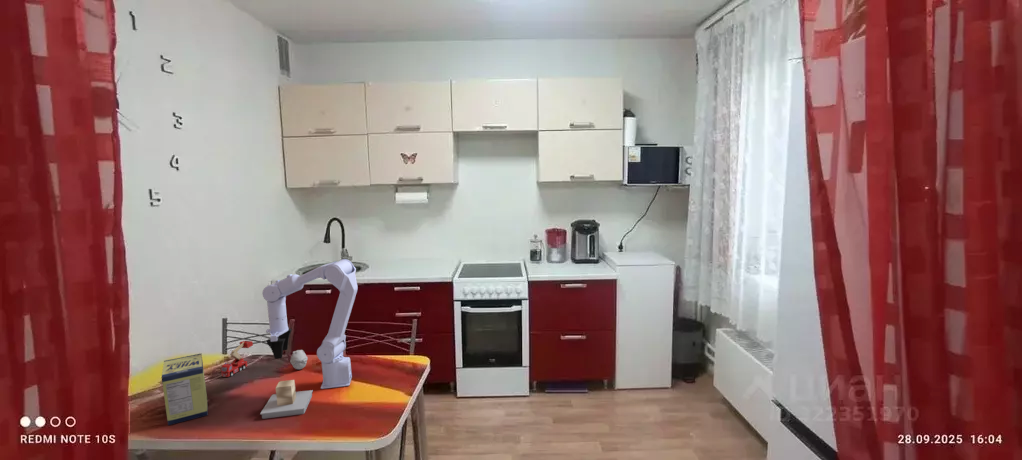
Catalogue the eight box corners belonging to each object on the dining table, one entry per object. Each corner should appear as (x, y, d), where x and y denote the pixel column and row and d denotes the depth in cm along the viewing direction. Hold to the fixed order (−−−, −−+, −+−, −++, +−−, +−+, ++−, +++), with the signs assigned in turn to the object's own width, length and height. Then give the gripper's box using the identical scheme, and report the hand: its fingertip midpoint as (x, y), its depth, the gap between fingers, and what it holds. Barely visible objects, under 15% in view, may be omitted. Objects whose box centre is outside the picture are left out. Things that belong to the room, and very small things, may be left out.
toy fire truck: (220, 377, 176) (217, 352, 174) (247, 362, 189) (245, 339, 188) (228, 378, 175) (225, 353, 174) (255, 363, 188) (252, 339, 187)
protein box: (207, 396, 161) (201, 352, 159) (208, 415, 148) (203, 367, 146) (169, 405, 155) (163, 360, 153) (167, 426, 143) (160, 377, 140)
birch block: (296, 397, 154) (294, 379, 154) (292, 403, 150) (291, 385, 149) (281, 399, 154) (279, 381, 153) (277, 405, 149) (275, 387, 148)
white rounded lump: (306, 363, 186) (304, 346, 185) (310, 369, 181) (308, 351, 180) (289, 367, 183) (287, 350, 182) (292, 373, 177) (291, 355, 176)
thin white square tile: (313, 397, 160) (312, 390, 159) (305, 415, 147) (304, 408, 147) (272, 401, 157) (272, 394, 157) (261, 421, 145) (260, 413, 145)
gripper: (271, 312, 174) (274, 347, 175) (259, 324, 159) (263, 363, 161) (292, 310, 175) (295, 345, 177) (281, 322, 161) (285, 361, 163)
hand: (281, 354), depth 169 cm, fingers open, 7 cm apart
